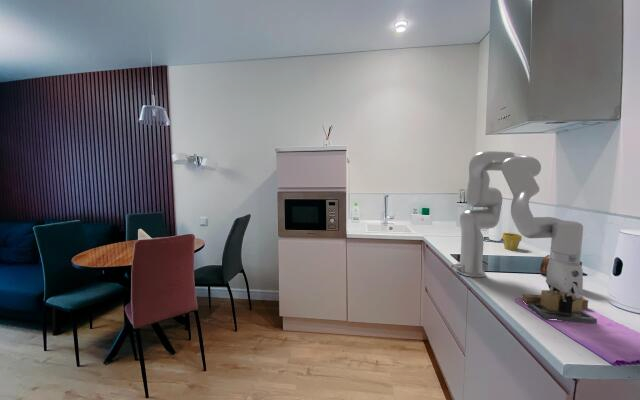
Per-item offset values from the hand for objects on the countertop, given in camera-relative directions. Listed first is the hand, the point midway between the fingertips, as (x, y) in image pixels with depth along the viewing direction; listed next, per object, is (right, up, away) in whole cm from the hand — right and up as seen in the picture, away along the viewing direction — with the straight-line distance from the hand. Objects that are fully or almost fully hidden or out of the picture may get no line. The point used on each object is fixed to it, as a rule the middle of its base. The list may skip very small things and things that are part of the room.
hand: (560, 308), depth 91 cm
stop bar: (0, -1, 0) cm, 1 cm away
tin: (+30, +1, +40) cm, 50 cm away
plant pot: (+44, +5, +83) cm, 94 cm away
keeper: (0, -2, 0) cm, 2 cm away
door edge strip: (+4, -2, +7) cm, 8 cm away
